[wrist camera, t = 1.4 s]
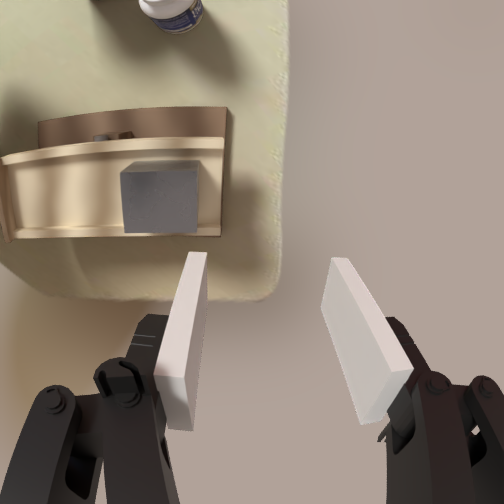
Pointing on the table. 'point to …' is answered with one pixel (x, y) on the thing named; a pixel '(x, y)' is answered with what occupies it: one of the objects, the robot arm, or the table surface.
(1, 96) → the table surface
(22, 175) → the balance beam
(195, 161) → the block
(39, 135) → the stand
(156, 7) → the pill bottle
